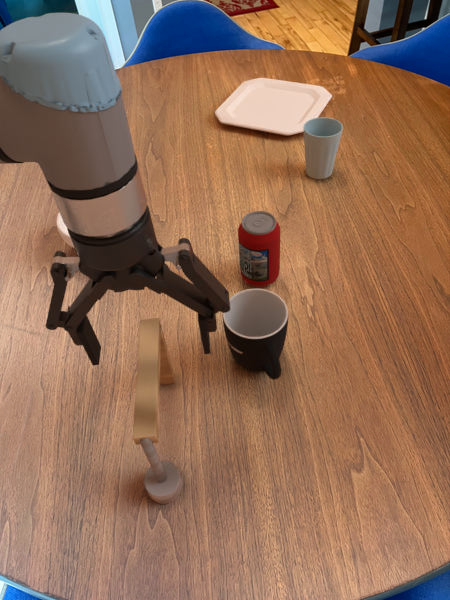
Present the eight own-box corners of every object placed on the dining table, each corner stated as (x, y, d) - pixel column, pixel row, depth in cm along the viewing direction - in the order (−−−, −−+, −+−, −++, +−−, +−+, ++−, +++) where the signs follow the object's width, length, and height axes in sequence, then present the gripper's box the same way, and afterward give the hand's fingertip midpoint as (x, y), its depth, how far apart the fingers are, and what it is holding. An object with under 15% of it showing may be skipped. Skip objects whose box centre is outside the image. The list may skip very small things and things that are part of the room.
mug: (218, 342, 74) (212, 299, 67) (271, 324, 76) (271, 280, 68) (248, 406, 67) (245, 366, 59) (306, 384, 68) (311, 342, 61)
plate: (248, 83, 132) (248, 75, 130) (336, 96, 124) (337, 87, 122) (207, 126, 118) (206, 118, 116) (303, 145, 110) (303, 136, 108)
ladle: (182, 502, 59) (164, 455, 48) (147, 505, 59) (121, 459, 48) (181, 375, 71) (167, 317, 60) (152, 378, 71) (132, 320, 60)
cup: (304, 159, 106) (307, 115, 98) (339, 164, 104) (345, 118, 96) (297, 179, 101) (299, 134, 93) (333, 184, 99) (339, 138, 91)
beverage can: (232, 275, 84) (228, 222, 75) (260, 256, 86) (258, 202, 77) (260, 296, 80) (258, 242, 71) (287, 275, 83) (289, 221, 74)
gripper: (241, 175, 45) (249, 317, 61) (-20, 202, 46) (56, 336, 61) (249, 226, 40) (256, 366, 56) (-44, 256, 41) (45, 386, 56)
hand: (152, 350), depth 59 cm, fingers open, 13 cm apart
